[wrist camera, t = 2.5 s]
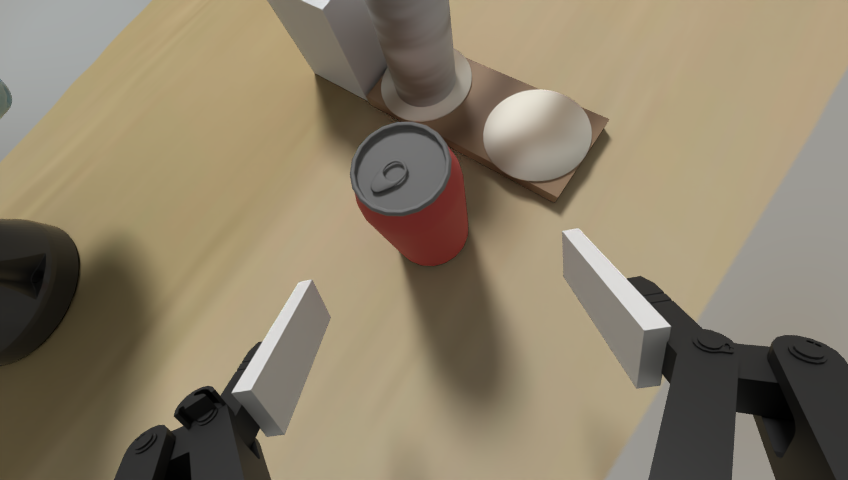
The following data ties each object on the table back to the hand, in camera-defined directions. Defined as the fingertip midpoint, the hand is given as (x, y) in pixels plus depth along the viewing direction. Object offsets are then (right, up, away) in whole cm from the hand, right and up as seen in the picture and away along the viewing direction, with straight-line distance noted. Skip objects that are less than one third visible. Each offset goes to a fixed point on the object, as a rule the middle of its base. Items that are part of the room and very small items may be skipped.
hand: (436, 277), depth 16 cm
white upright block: (-8, +22, +18) cm, 30 cm away
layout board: (+4, +14, +14) cm, 20 cm away
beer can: (0, +3, +12) cm, 12 cm away
